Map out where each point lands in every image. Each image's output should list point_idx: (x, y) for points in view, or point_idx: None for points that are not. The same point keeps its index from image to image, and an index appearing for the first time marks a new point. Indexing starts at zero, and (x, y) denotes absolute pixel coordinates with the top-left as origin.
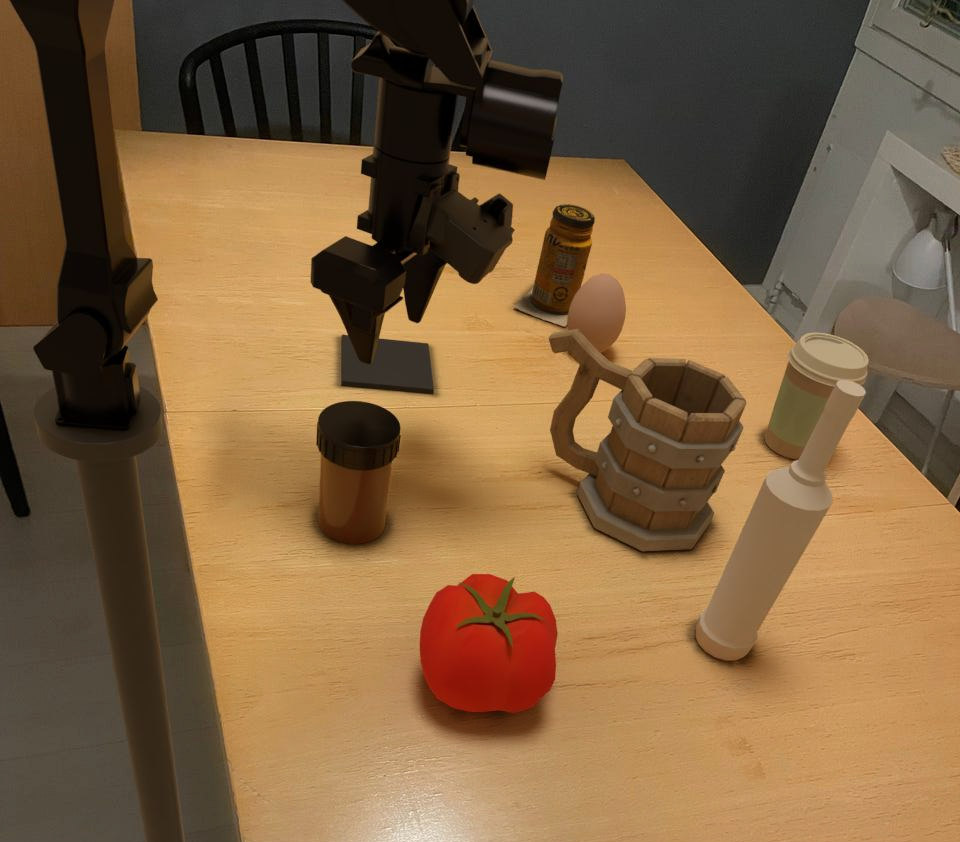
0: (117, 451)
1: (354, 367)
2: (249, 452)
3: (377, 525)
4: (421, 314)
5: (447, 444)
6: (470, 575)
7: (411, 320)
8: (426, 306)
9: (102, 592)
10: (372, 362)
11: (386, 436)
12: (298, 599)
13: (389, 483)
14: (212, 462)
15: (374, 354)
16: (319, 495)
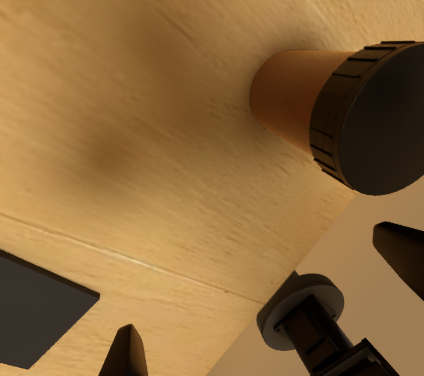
0: (321, 279)
1: (63, 315)
2: (264, 238)
3: (303, 50)
4: (130, 346)
5: (52, 137)
6: None
7: (139, 336)
8: (106, 373)
9: None
10: (29, 318)
11: (420, 62)
12: (408, 39)
13: (311, 60)
14: (296, 240)
15: (400, 233)
16: None
